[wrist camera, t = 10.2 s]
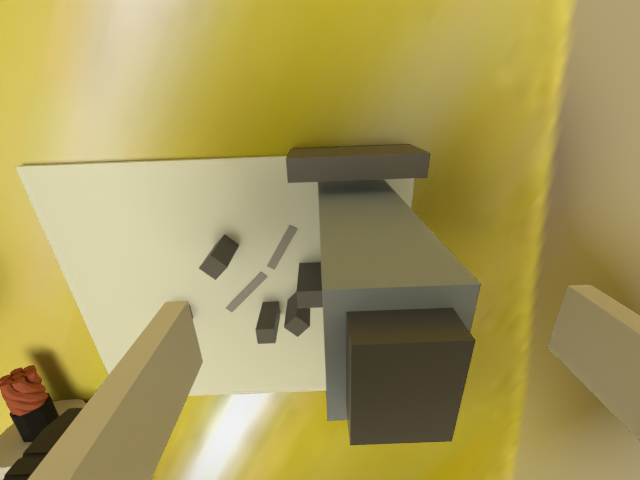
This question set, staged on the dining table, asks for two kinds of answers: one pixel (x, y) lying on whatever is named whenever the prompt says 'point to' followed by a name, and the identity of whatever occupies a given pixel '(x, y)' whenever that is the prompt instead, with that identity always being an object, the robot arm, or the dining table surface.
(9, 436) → the cable
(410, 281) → the block
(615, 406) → the robot arm
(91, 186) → the routing panel
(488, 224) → the dining table surface
